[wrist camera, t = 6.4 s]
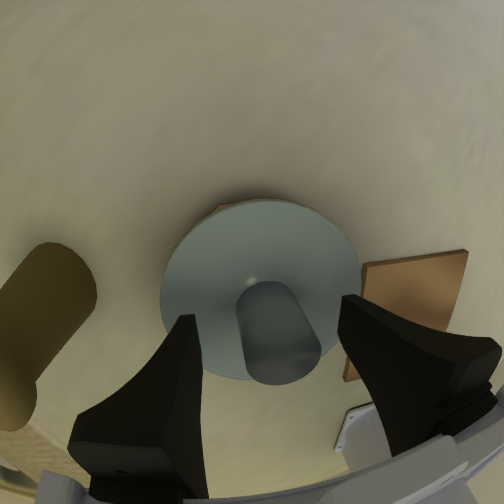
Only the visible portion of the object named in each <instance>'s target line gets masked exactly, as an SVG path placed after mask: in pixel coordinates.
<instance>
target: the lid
mask: <svg viewBox="0 0 504 504" xmlns="http://www.w3.org/2000/svg"><path fill="white" fill-rule="evenodd" d="M350 294H356V295H358V296H360V294H361V271H360V266H359V262H358V259H357V256H356V253H355V251H354V249H353V247H352V245H351V243H350V242H349V240H348V239H347V238H346V236H345V235H344V234H343V232H342V231H340V230H339V229H338V228H337V227H336V226H335V225H334V224H333V223H332V222H330V221H329V220H327V219H326V218H324V217H323V216H322V215H320V214H319V213H317V212H316V211H314V210H312V209H310V208H308V207H306V206H304V205H301V204H298V203H295V202H291V201H287V200H281V199H266V198H261V199H252V200H245V201H241V202H237V203H233V204H230V205H228V206H226V207H223V208H221V209H218V210H216V211H215V212H213V213H211V214H209V215H208V216H206V217H204V218H203V219H202V220H201V221H199V222H198V223H197V224H195V225H194V226H193V227H192V228H191V229H190V230H189V231H188V232H187V233H186V234H185V235H184V236H183V238H182V239H181V240H180V242H179V243H178V244H177V246H176V247H175V249H174V251H173V253H172V255H171V257H170V259H169V262H168V264H167V267H166V270H165V273H164V277H163V280H162V285H161V291H160V309H161V316H162V320H163V323H164V326H165V329H166V331H167V333H168V334H169V332H170V330H171V329H172V327H173V325H174V324H175V322H176V320H177V319H178V317H179V316H180V315H186V314H195V318H196V324H197V329H198V335H199V340H200V345H201V350H202V365H203V369H205V370H207V371H209V372H211V373H214V374H217V375H219V376H223V377H227V378H232V379H239V380H256V381H258V382H260V383H263V384H267V385H284V384H288V383H292V382H294V381H297V380H299V379H301V378H303V377H304V376H306V375H307V374H308V373H310V372H311V371H312V370H313V369H314V368H315V366H316V365H317V363H318V362H319V360H320V357H321V356H323V355H324V354H325V353H327V352H328V351H329V350H330V349H331V348H332V347H333V346H334V345H335V344H336V343H337V342H338V340H339V337H338V334H337V328H338V321H339V314H340V307H341V299H342V296H344V295H350Z"/></svg>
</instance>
